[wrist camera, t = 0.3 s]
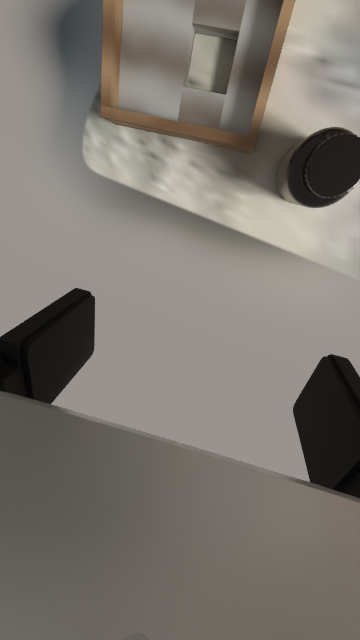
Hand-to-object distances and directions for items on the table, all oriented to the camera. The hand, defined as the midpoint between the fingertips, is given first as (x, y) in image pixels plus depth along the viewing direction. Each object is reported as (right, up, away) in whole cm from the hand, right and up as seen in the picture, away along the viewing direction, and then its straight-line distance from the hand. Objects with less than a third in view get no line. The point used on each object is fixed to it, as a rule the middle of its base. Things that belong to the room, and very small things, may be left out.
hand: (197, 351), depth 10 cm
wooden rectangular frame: (+1, +31, +19) cm, 36 cm away
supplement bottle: (+15, +20, +22) cm, 33 cm away
